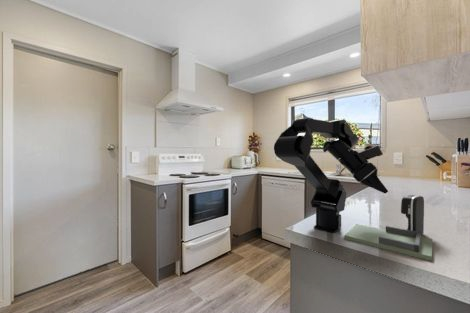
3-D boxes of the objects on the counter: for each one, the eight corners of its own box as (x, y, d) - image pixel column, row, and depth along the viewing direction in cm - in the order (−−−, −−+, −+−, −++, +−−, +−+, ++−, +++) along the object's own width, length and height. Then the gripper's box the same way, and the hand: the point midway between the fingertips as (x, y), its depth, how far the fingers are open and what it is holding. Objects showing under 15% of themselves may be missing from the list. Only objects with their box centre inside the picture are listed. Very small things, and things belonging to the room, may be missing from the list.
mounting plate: (344, 238, 60) (344, 229, 60) (356, 227, 69) (356, 219, 69) (431, 261, 47) (431, 249, 47) (432, 243, 57) (432, 233, 57)
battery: (408, 229, 67) (408, 193, 66) (424, 233, 63) (424, 195, 63) (399, 234, 63) (399, 195, 63) (415, 238, 60) (415, 198, 60)
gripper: (367, 134, 60) (417, 175, 55) (362, 138, 77) (400, 170, 72) (336, 161, 64) (380, 202, 59) (338, 160, 81) (372, 192, 76)
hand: (384, 190), depth 66 cm, fingers open, 9 cm apart
